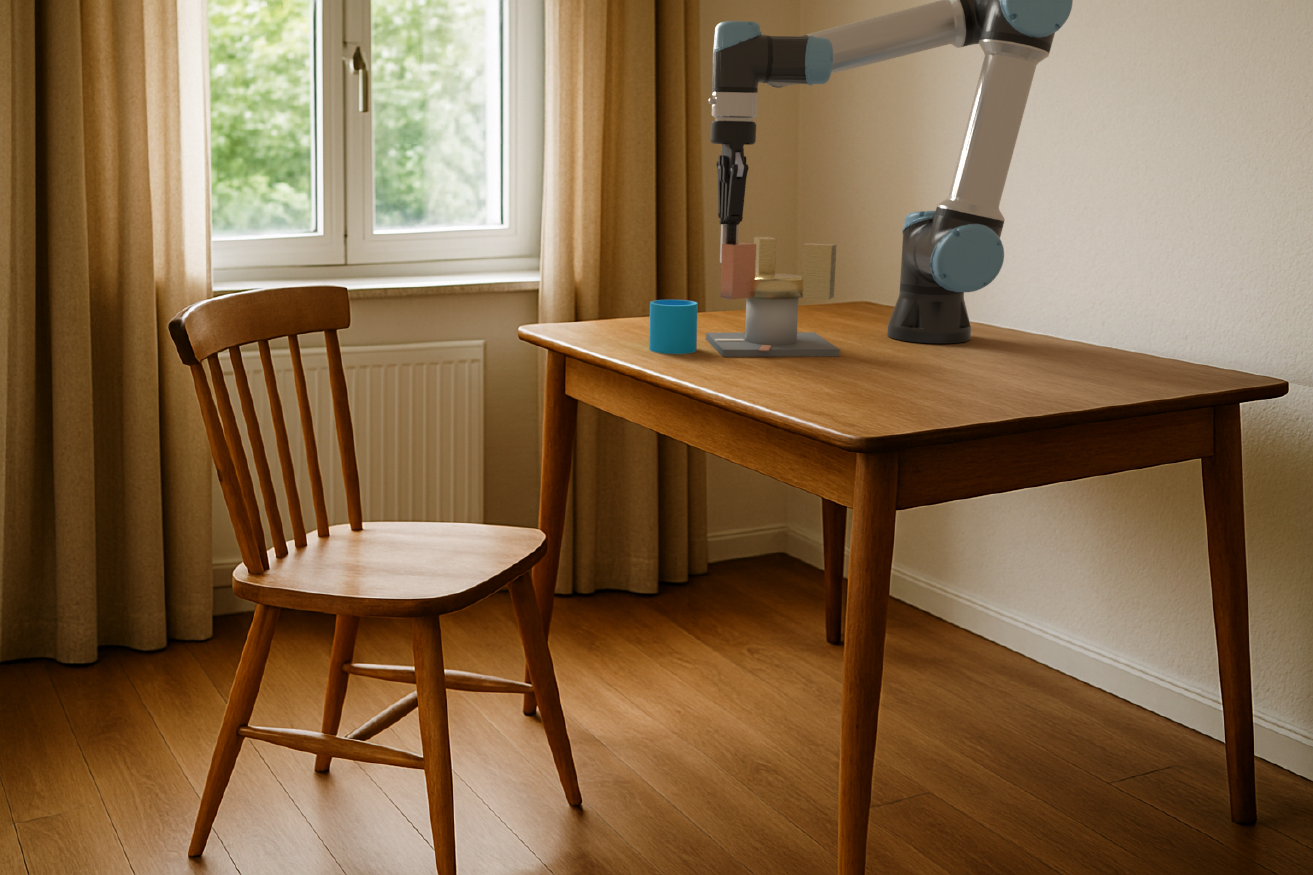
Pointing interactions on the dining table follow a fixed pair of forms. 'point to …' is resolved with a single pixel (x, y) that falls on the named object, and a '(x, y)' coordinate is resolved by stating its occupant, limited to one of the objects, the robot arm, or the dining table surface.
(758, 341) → the post base
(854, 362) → the dining table surface
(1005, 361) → the dining table surface
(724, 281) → the three-blade desk fan
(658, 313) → the mug
